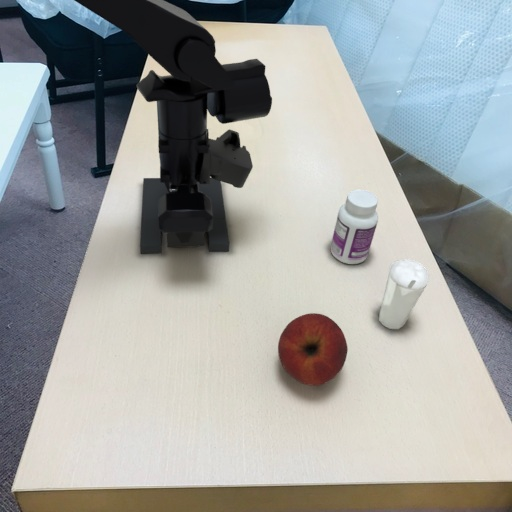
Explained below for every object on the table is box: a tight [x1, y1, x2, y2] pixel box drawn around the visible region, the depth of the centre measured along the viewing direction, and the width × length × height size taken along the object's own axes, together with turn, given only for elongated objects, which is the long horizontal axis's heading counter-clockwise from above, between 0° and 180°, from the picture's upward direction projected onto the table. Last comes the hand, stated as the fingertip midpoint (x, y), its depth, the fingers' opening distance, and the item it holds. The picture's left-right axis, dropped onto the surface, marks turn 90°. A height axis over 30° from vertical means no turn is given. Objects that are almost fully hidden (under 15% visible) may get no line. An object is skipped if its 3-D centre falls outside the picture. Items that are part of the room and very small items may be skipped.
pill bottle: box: [330, 188, 379, 265], centre depth 69 cm, size 5×5×10 cm
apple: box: [277, 312, 349, 387], centre depth 55 cm, size 7×8×8 cm
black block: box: [166, 232, 205, 248], centre depth 70 cm, size 5×5×3 cm
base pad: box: [139, 177, 230, 255], centre depth 75 cm, size 12×16×2 cm
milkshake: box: [378, 258, 430, 330], centre depth 60 cm, size 4×5×10 cm
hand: (184, 229), depth 71 cm, fingers closed on black block, 5 cm apart
